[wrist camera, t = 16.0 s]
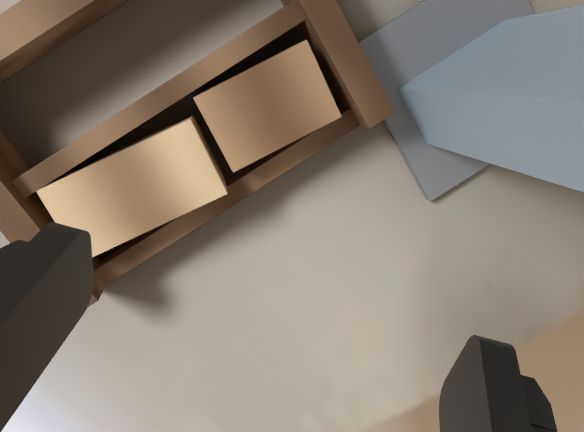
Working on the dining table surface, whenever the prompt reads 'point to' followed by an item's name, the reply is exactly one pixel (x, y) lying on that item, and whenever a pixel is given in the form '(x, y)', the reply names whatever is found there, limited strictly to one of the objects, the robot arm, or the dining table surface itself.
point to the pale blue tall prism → (511, 97)
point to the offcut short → (268, 106)
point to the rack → (97, 3)
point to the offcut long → (137, 186)
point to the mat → (420, 57)
